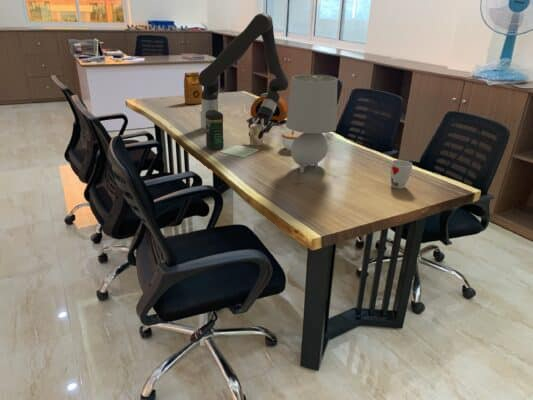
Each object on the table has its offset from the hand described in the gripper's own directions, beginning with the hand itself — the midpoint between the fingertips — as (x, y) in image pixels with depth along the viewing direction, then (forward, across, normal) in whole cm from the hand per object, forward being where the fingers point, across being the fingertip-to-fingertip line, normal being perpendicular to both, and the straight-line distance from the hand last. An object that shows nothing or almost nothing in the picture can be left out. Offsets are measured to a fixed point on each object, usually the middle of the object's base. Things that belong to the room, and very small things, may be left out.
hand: (254, 137), depth 215 cm
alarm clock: (-33, -21, +39) cm, 55 cm away
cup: (+12, +78, -5) cm, 79 cm away
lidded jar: (-1, +19, +7) cm, 20 cm away
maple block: (+2, 0, +4) cm, 5 cm away
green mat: (+12, 0, -6) cm, 14 cm away
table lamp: (+14, +38, -8) cm, 41 cm away
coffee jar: (+14, -14, -8) cm, 21 cm away
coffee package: (-38, -89, +44) cm, 106 cm away
